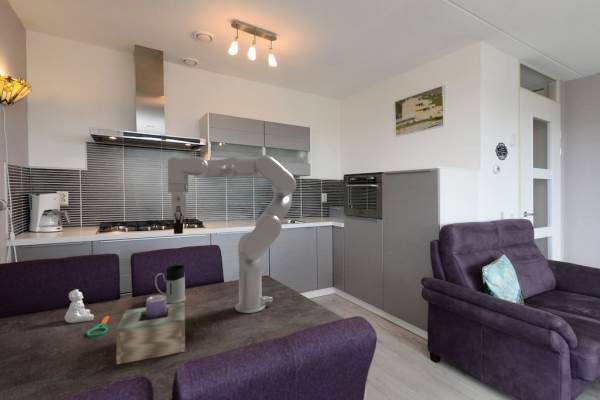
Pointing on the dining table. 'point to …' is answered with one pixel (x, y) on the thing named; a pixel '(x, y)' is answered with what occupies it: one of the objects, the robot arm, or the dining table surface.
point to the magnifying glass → (99, 328)
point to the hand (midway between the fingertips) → (178, 232)
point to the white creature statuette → (77, 309)
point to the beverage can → (156, 307)
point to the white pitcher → (174, 284)
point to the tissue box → (150, 334)
